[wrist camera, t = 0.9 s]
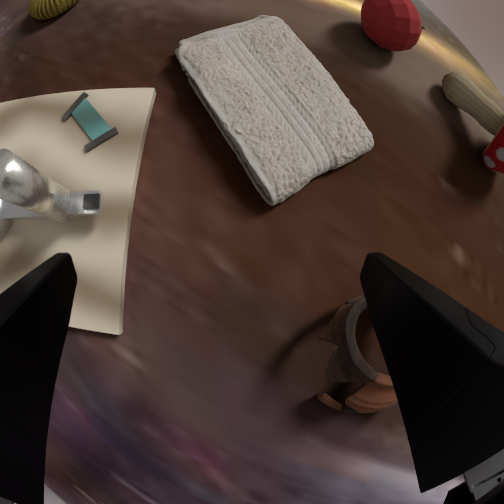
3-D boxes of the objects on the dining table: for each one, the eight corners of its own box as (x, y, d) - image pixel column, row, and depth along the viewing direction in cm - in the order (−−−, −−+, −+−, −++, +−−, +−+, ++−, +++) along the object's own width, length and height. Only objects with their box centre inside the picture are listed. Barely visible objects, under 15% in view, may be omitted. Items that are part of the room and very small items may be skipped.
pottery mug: (279, 392, 23) (311, 370, 16) (322, 305, 28) (358, 256, 22) (394, 441, 21) (455, 431, 14) (419, 355, 26) (473, 322, 19)
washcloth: (269, 24, 26) (274, 5, 23) (371, 152, 26) (388, 140, 23) (166, 59, 24) (163, 39, 21) (267, 212, 24) (275, 203, 21)
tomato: (378, -13, 18) (440, 0, 18) (350, -13, 23) (404, -5, 23) (380, 56, 24) (437, 62, 23) (353, 43, 29) (404, 47, 29)
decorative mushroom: (457, 32, 19) (564, 126, 14) (467, 59, 26) (547, 132, 21) (412, 103, 27) (511, 199, 22) (430, 114, 34) (506, 188, 29)
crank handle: (-20, 240, 18) (-93, 224, 9) (-14, 191, 19) (-82, 161, 9) (106, 237, 20) (40, 210, 11) (111, 179, 20) (56, 120, 11)
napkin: (122, 332, 21) (117, 335, 20) (-33, 299, 19) (-41, 299, 17) (156, 94, 23) (154, 86, 21) (4, 107, 20) (-2, 101, 19)
